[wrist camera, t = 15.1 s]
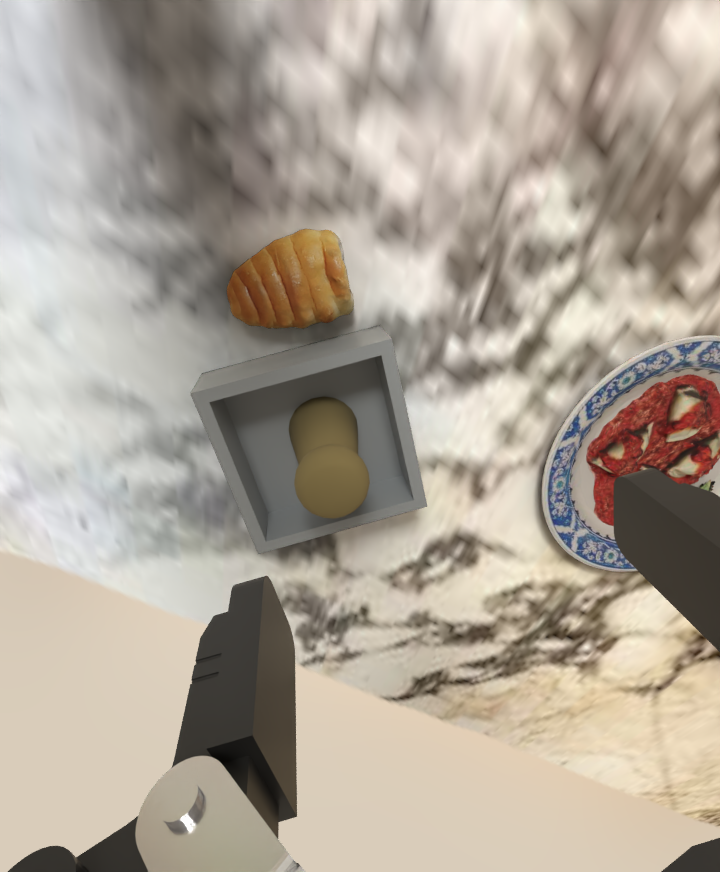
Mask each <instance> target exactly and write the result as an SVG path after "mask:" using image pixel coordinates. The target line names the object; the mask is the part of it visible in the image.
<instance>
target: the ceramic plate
mask: <svg viewBox="0 0 720 872" xmlns="http://www.w3.org/2000/svg"><path fill="white" fill-rule="evenodd" d="M648 468H654V469H657V470H659V471H660V472H662V473H663V474H665V475H666V476H668V477H669V478H671V479H672V480H674V481H675V482H677V483H678V484H682V483H687V484H690V485H692V486H695V487H698V488H701V489H704V490H707V491H710V492H713V493H715V494H716V495H718V496H719V497H720V336H712V335H710V336H694V337H686V338H682V339H678V340H674V341H670V342H666V343H663V344H661V345H658V346H656V347H653V348H651V349H648V350H646V351H644V352H642V353H640V354H638V355H636V356H634V357H632V358H631V359H629V360H627V361H626V362H624V363H623V364H621V365H620V366H618V367H617V368H615V369H614V370H613V371H611V372H610V373H609V374H607V375H606V376H605V377H604V378H603V379H602V380H600V381H599V382H598V383H597V384H596V385H595V386H594V387H593V388H592V389H590V390H589V391H588V393H587V394H586V395H585V396H584V397H583V398H582V400H581V401H580V402H579V403H578V404H577V405H576V406H575V408H574V409H573V410H572V412H571V413H570V415H569V416H568V417H567V419H566V420H565V422H564V424H563V425H562V427H561V429H560V430H559V432H558V434H557V436H556V438H555V440H554V442H553V444H552V447H551V449H550V452H549V455H548V457H547V461H546V464H545V468H544V473H543V479H542V506H543V512H544V516H545V519H546V522H547V525H548V527H549V529H550V532H551V533H552V535H553V537H554V538H555V540H556V541H557V542H558V544H559V545H560V546H561V547H562V548H563V549H564V550H565V551H566V552H567V553H568V554H570V555H571V556H572V557H574V558H575V559H577V560H579V561H580V562H582V563H584V564H586V565H589V566H592V567H595V568H598V569H603V570H608V571H616V572H631V571H638V570H637V569H636V568H635V567H634V566H633V565H632V564H631V563H630V562H629V561H628V560H627V559H626V558H625V557H624V556H623V554H622V553H621V551H620V549H619V548H618V545H617V543H616V540H615V537H614V481H615V479H616V478H618V477H620V476H624V475H627V474H631V473H634V472H638V471H641V470H645V469H648Z"/></svg>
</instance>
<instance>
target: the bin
mask: <svg viewBox="0 0 720 872" xmlns="http://www.w3.org/2000/svg"><path fill="white" fill-rule="evenodd" d="M190 394H191V396H192V399H193V401H194V403H195V406H196V408H197V410H198V413H199V415H200V418H201V420H202V422H203V425H204V427H205V429H206V432H207V434H208V436H209V439H210V441H211V444H212V446H213V448H214V451H215V453H216V455H217V458H218V460H219V462H220V465H221V467H222V470H223V472H224V474H225V477H226V479H227V481H228V484H229V486H230V488H231V491H232V493H233V496H234V498H235V500H236V503H237V505H238V507H239V510H240V512H241V514H242V517H243V519H244V522H245V524H246V526H247V529H248V531H249V533H250V536H251V538H252V541H253V543H254V545H255V548H256V550H257V552H258V554H261V553H264V552H268V551H271V550H275V549H278V548H282V547H286V546H289V545H293V544H296V543H300V542H303V541H307V540H310V539H314V538H317V537H321V536H324V535H328V534H332V533H335V532H339V531H342V530H346V529H349V528H353V527H356V526H360V525H363V524H367V523H370V522H374V521H377V520H381V519H385V518H388V517H392V516H395V515H399V514H402V513H406V512H409V511H413V510H416V509H420V508H423V507H427V503H426V498H425V493H424V489H423V484H422V479H421V474H420V470H419V465H418V460H417V456H416V451H415V446H414V441H413V437H412V432H411V427H410V422H409V418H408V413H407V408H406V404H405V399H404V394H403V389H402V385H401V380H400V375H399V370H398V366H397V361H396V356H395V352H394V347H393V342H392V338H391V337H390V336H389V335H388V334H387V333H386V332H385V330H384V329H383V328H382V327H381V326H380V325H379V326H375V327H371V328H368V329H364V330H360V331H357V332H353V333H349V334H346V335H342V336H338V337H335V338H331V339H327V340H324V341H320V342H316V343H313V344H309V345H305V346H302V347H298V348H294V349H291V350H287V351H283V352H280V353H276V354H272V355H269V356H265V357H261V358H258V359H254V360H250V361H247V362H243V363H239V364H236V365H232V366H228V367H225V368H221V369H217V370H214V371H210V372H206V373H202V375H201V376H200V378H199V380H198V381H197V383H196V385H195V386H194V388H193V390H192V392H191V393H190ZM323 396H324V397H331V398H336V399H338V400H340V401H342V402H344V403H345V404H346V405H347V406H348V407H350V408H351V409H352V411H353V413H354V415H355V417H356V419H357V426H358V456H360V457H361V458H362V459H363V461H364V463H365V465H366V467H367V469H368V472H369V480H370V484H369V489H368V493H367V497H366V498H365V500H364V501H363V503H362V505H360V506H359V507H358V508H357V509H356V510H355V511H354V512H352V513H350V514H348V515H346V516H344V517H340V518H334V519H332V518H323V517H320V516H317V515H315V514H312V513H311V512H309V511H308V510H307V509H306V508H304V507H303V505H302V503H301V502H300V500H299V499H298V497H297V495H296V490H295V485H294V480H295V474H296V469H297V468H298V466H299V464H298V461H297V458H296V455H295V452H294V449H293V446H292V443H291V440H290V435H289V430H288V429H289V423H290V419H291V417H292V415H293V413H294V411H295V410H296V409H297V408H298V407H299V406H300V405H301V404H302V403H304V402H306V401H308V400H310V399H312V398H317V397H323Z"/></svg>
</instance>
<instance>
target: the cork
mask: <svg viewBox="0 0 720 872" xmlns="http://www.w3.org/2000/svg"><path fill="white" fill-rule="evenodd" d="M288 430H289V435H290V440H291V443H292V446H293V449H294V452H295V455H296V458H297V461H298V464H299V466H298V468H297V469H296V474H295V480H294V485H295V490H296V495H297V497H298V499H299V500H300V502H301V503H302V505H303V507H304V508H306V509H307V510H308V511H309V512H311V513H312V514H315V515H317V516H320V517H323V518H332V519H334V518H340V517H344V516H346V515H348V514H350V513H352V512H354V511H355V510H356V509H357V508H358V507H359V506H360V505H362V503H363V501H364V500H365V498H366V497H367V493H368V489H369V484H370V480H369V472H368V469H367V467H366V465H365V463H364V461H363V459H362V458H361V457H360V456H358V426H357V419H356V417H355V415H354V413H353V411H352V409H351V408H350V407H348V406H347V405H346V404H345V403H344V402H342V401H340V400H338V399H336V398H331V397H324V396H323V397H317V398H312V399H310V400H308V401H306V402H304V403H302V404H301V405H300V406H299V407H298V408H297V409H296V410H295V411H294V413H293V415H292V417H291V419H290V423H289V429H288Z"/></svg>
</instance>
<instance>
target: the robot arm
mask: <svg viewBox="0 0 720 872" xmlns="http://www.w3.org/2000/svg"><path fill="white" fill-rule="evenodd" d="M614 537H615V540H616V543H617V545H618V548H619V549H620V551H621V553H622V554H623V556H624V557H625V558H626V559H627V560H628V561H629V562H630V563H631V564H632V565H633V566H634V567H635V568H636V569H637V570H638V571H639V572H640V573H641V574H642V575H643V576H644V577H645V578H646V579H647V580H648V581H649V582H650V583H651V584H652V585H653V586H654V587H655V588H656V589H657V590H658V591H659V592H660V593H661V594H662V595H663V596H664V597H665V598H666V599H667V600H668V601H669V602H670V603H671V604H672V605H673V606H674V607H675V608H676V609H677V610H678V611H679V612H680V613H681V614H682V615H683V616H684V617H685V618H686V619H687V620H688V621H689V622H690V623H691V624H692V625H693V626H694V627H695V628H696V629H697V630H698V631H699V632H700V633H701V634H702V635H703V636H704V637H705V638H706V639H707V640H708V641H709V642H710V643H711V644H712V645H713V646H714V647H715V648H716V649H717V650H718V651H719V652H720V497H719V496H718V495H716V494H715V493H713V492H710V491H707V490H704V489H701V488H698V487H695V486H692V485H690V484H687V483H682V484H678V483H677V482H675V481H674V480H672V479H671V478H669V477H668V476H666V475H665V474H663V473H662V472H660V471H659V470H657V469H654V468H648V469H645V470H641V471H638V472H634V473H631V474H627V475H624V476H620V477H618V478H616V479H615V481H614ZM295 706H296V703H295V648H294V641H293V636H292V632H291V628H290V625H289V623H288V620H287V618H286V615H285V613H284V611H283V608H282V606H281V604H280V601H279V599H278V596H277V594H276V592H275V589H274V587H273V585H272V582H271V580H270V579H269V577H268V576H264V577H261V578H257V579H254V580H250V581H247V582H243V583H240V584H236V585H234V586H233V588H232V591H231V597H230V604H229V610H228V612H226V613H222V614H219V615H215V616H214V617H213V618H212V620H211V622H210V623H209V625H208V627H207V628H206V630H205V632H204V633H203V635H202V636H201V638H200V643H199V648H198V652H197V657H196V665H195V666H194V671H193V675H192V684H191V685H190V689H189V694H188V698H187V703H186V707H185V712H184V717H183V721H182V726H181V731H180V735H179V740H178V744H177V749H176V754H175V758H174V762H173V766H172V768H171V769H170V770H169V771H167V772H166V773H165V774H164V775H163V776H162V777H161V778H160V779H159V780H158V781H157V783H156V784H155V785H154V787H153V788H152V789H151V791H150V792H149V794H148V795H147V797H146V799H145V801H144V803H143V805H142V807H141V810H140V812H139V815H138V816H137V817H136V818H135V819H134V820H132V821H131V822H130V823H128V824H127V825H126V826H124V827H123V828H121V829H120V830H118V831H116V832H115V833H113V834H112V835H110V836H109V837H107V838H106V839H104V840H103V841H101V842H99V843H98V844H96V845H95V846H93V847H92V848H90V849H89V850H87V851H86V852H84V853H83V854H81V855H79V856H78V857H75V856H74V855H73V854H72V853H71V852H70V851H69V850H67V849H66V848H64V847H60V846H49V847H46V848H42V849H40V850H38V851H36V852H33V853H32V854H30V855H28V856H27V857H25V858H24V859H22V860H21V861H20V862H18V863H17V864H16V865H15V866H13V868H11V869H10V870H9V871H8V872H305V871H304V869H303V868H302V867H301V866H300V865H299V864H298V863H296V862H295V861H294V860H293V859H292V857H291V856H290V855H289V853H288V852H287V851H286V849H285V848H284V847H283V845H282V844H281V843H280V842H279V840H278V822H280V821H284V820H287V819H290V818H294V817H297V785H296V708H295ZM662 872H720V838H718V839H715V840H711V841H708V842H705V843H701V844H698V845H695V846H692V847H691V848H690V849H688V850H687V851H686V852H685V853H684V854H682V855H681V856H680V857H679V858H678V859H676V860H675V861H674V862H673V863H671V864H670V865H669V866H668V867H667V868H665V869H664V870H663V871H662Z"/></svg>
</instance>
